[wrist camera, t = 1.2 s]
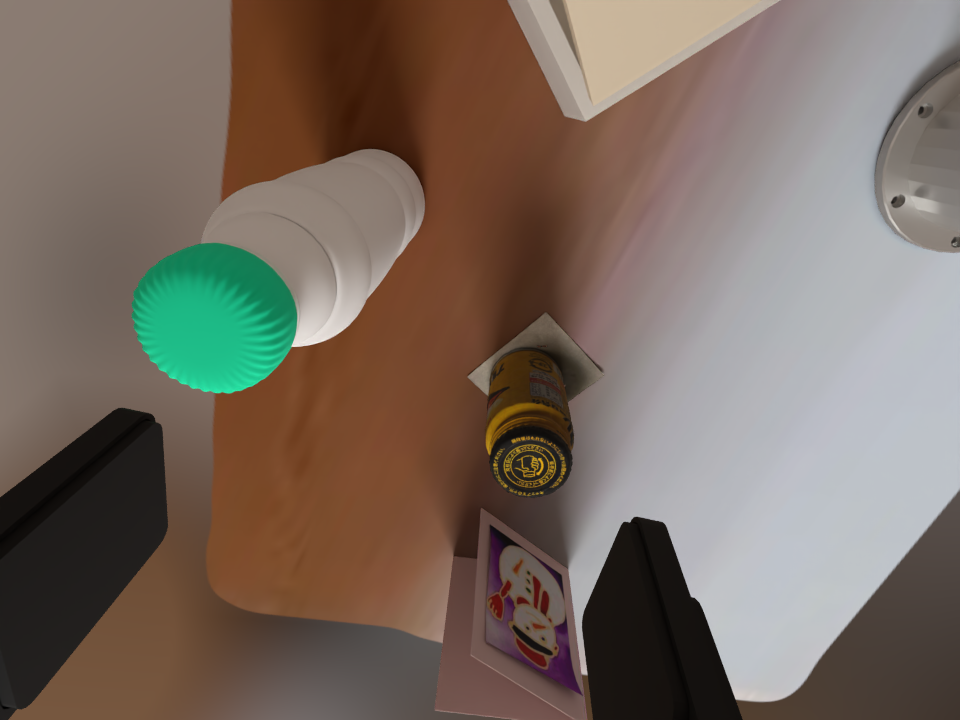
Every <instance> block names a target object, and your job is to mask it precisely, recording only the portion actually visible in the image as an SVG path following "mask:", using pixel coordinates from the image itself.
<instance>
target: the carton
mask: <svg viewBox="0 0 960 720" xmlns="http://www.w3.org/2000/svg"><path fill="white" fill-rule="evenodd" d="M507 1H508V3H509V5H510V7H511V9H512V11H513V13H514V15H515V17H516V19H517V21H518V23H519V25H520V27H521V29H522V31H523V33H524V35H525V37H526V39H527V41H528V43H529V45H530V47H531V49H532V51H533V53H534V55H535V57H536V59H537V61H538V63H539V65H540V67H541V69H542V71H543V73H544V75H545V77H546V79H547V82H548V84H549V86H550V88H551V90H552V92H553V94H554V96H555V98H556V100H557V102H558V104H559V106H560V108H561V110H562V112H563V114H564V116H566V117H570V118H574V119H578V120H582V121H585V122H586V121H587V120H589V119H591V118H592V117H594V116H595V115H597V114H599V113H600V112H602V111H603V110H605V109H607V108H608V107H610V106H612V105H613V104H615V103H616V102H618V101H620V100H621V99H623V98H624V97H626V96H628V95H629V94H631V93H632V92H634V91H636V90H637V89H639V88H640V87H642V86H644V85H645V84H647V83H648V82H650V81H652V80H653V79H655V78H656V77H658V76H660V75H661V74H663V73H664V72H666V71H668V70H669V69H671V68H672V67H674V66H676V65H677V64H679V63H680V62H682V61H684V60H685V59H687V58H688V57H690V56H692V55H693V54H695V53H696V52H698V51H700V50H701V49H703V48H704V47H706V46H708V45H709V44H711V43H712V42H714V41H716V40H717V39H719V38H720V37H722V36H724V35H725V34H727V33H729V32H730V31H732V30H733V29H735V28H737V27H738V26H740V25H741V24H743V23H745V22H746V21H748V20H749V19H751V18H753V17H754V16H756V15H757V14H759V13H761V12H762V11H764V10H765V9H767V8H769V7H770V6H772V5H773V4H775V3H777V2H778V1H780V0H762V1H760V2H758V3H757V4H755V5H754V6H752V7H751V8H749V9H747V10H746V11H744V12H743V13H741V14H739V15H738V16H736V17H735V18H733V19H731V20H730V21H728V22H727V23H725V24H724V25H722V26H720V27H719V28H717V29H716V30H714V31H712V32H711V33H709V34H708V35H706V36H704V37H703V38H701V39H700V40H698V41H697V42H695V43H693V44H692V45H690V46H689V47H687V48H685V49H684V50H682V51H681V52H679V53H677V54H676V55H674V56H673V57H671V58H669V59H668V60H666V61H665V62H663V63H662V64H660V65H658V66H657V67H655V68H654V69H652V70H650V71H649V72H647V73H646V74H644V75H642V76H641V77H639V78H638V79H636V80H635V81H633V82H631V83H630V84H628V85H627V86H625V87H623V88H622V89H620V90H619V91H617V92H615V93H614V94H612V95H611V96H609V97H608V98H606V99H604V100H603V101H601V102H600V103H598V104H596V105H595V106H593V105H592V103H591V101H590V99H589V97H588V93H587V90H586V86H585V82H584V79H583V75H582V71H581V67H580V64H579V60H578V56H577V53H576V49H575V45H574V41H573V38H572V34H571V30H570V27H569V23H568V19H567V15H566V12H565V8H564V4H563V1H562V0H507Z"/></svg>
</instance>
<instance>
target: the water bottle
mask: <svg viewBox="0 0 960 720" xmlns="http://www.w3.org/2000/svg"><path fill="white" fill-rule="evenodd" d="M424 211H425V199H424V193H423V189H422V186H421V183H420V181H419V179H418V177H417V176H416V174H415V173H414V171H413V170H412V169H411V168H410V166H409V165H408V164H407V163H406V162H404V161H403V160H402V159H400V158H399V157H397V156H395V155H394V154H392V153H389V152H386V151H383V150H377V149H364V150H359V151H355V152H352V153H350V154H348V155H346V156H342V157H338V158H335V159H333V160H330V161H328V162H326V163H324V164H319V165H315V166H311V167H308V168H304V169H301V170H298V171H295V172H292V173H289V174H287V175H284V176H282V177H280V178H277V179H275V180H273V181H268V182H261V183H257V184H253V185H250V186H247V187H245V188H243V189H241V190H239V191H237V192H235V193H234V194H232V195H231V196H229V197H228V198H227V199H226V200H224V201H223V202H222V203H221V204H220V205H219V206H218V208H217V209H216V210H215V211H214V213H213V214H212V216H211V217H210V219H209V221H208V223H207V225H206V227H205V230H204V232H203V236H202V240H201V244H198V245H194V246H191V247H188V248H185V249H182V250H180V251H178V252H176V253H174V254H172V255H170V256H167V257H166V258H164V259H162V260H161V261H159V262H158V263H157V264H156V265H155V266H153V267H152V268H150V269H149V270H148V272H147V273H146V274H145V276H144V277H143V278H142V279H141V280H140V282H139V284H138V287H137V288H136V289H135V291H134V301H133V302H132V308H133V310H134V311H133V313H132V318H133V320H134V321H135V324H134V329H135V330H136V331H137V333H138V336H137V337H138V340H139V341H140V342H141V343H142V348H143V351H144V352H146V353H147V354H149V358H150V361H152V362H154V363H156V364H157V366H158V368H159V370H161V371H164V372H166V373H167V374H168V376H169V378H173V379H177V380H178V381H179V382H180V383H181V384H188V385H189V386H190V387H191V388H194V389H196V388H199V389H201V390H202V391H205V392H208V391H212V392H214V393H221V392H224V393H232V392H234V391H241V390H243V389H245V388H247V387H251V386H253V385H255V384H257V383H258V382H259V381H261V380H263V379H265V378H266V377H267V376H268V375H269V374H270V373H271V372H272V371H273V370H274V369H275V368H277V366H278V365H279V364H280V363H281V362H282V361H283V359H284V358H285V356H286V355H287V353H288V352H289V350H290V348H291V347H298V346H307V345H312V344H316V343H320V342H322V341H325V340H327V339H330V338H332V337H333V336H335V335H337V334H338V333H340V332H341V331H343V330H344V329H345V328H346V327H347V326H349V325H350V324H351V323H352V321H353V320H354V319H355V318H356V317H357V315H358V314H359V312H360V311H361V309H362V308H363V306H364V304H365V301H366V299H367V298H368V297H369V296H370V295H371V294H372V292H373V291H374V290H375V289H376V288H377V286H378V285H379V284H380V282H381V281H382V280H383V278H384V277H385V276H386V274H387V273H388V271H389V270H390V268H391V266H392V265H393V263H394V261H395V259H396V258H397V257H398V256H399V255H400V254H401V253H402V252H403V250H404V249H405V248H406V246H407V244H408V243H409V242H410V241H411V239H412V238H413V237H414V236H415V234H416V233H417V231H418V230H419V228H420V225H421V223H422V220H423V217H424Z"/></svg>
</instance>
